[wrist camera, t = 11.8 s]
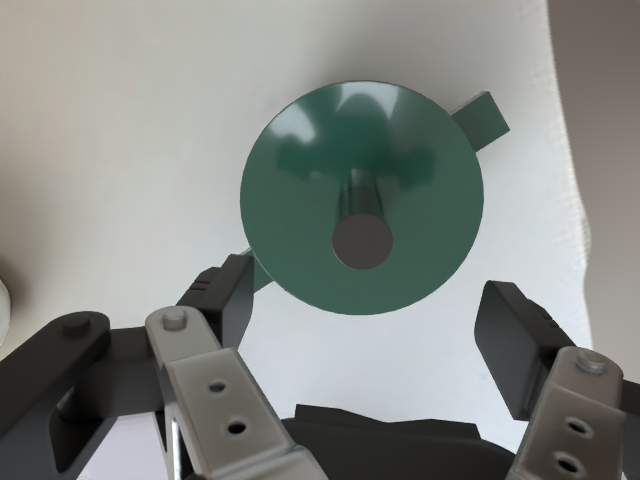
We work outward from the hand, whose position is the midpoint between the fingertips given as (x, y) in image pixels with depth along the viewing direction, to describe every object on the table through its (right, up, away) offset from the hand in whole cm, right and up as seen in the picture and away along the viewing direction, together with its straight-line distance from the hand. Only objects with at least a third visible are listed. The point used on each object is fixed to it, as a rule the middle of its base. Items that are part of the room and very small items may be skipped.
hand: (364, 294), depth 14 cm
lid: (+1, +4, +10) cm, 10 cm away
